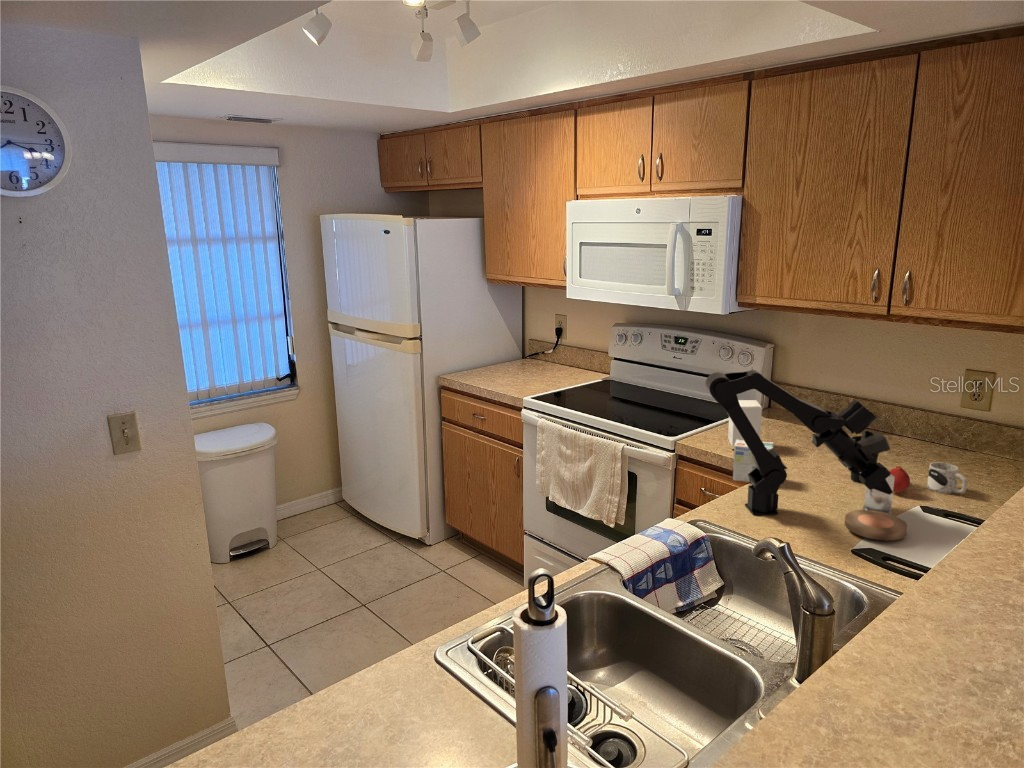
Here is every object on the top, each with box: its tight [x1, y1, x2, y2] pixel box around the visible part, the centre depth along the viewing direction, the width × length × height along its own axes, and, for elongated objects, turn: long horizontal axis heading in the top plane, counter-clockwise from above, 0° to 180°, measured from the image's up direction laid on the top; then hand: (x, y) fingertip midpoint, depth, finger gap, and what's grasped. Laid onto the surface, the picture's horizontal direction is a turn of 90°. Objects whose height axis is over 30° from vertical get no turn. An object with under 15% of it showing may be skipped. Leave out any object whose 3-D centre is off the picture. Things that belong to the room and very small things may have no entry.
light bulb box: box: [732, 439, 775, 483], centre depth 193 cm, size 11×7×11 cm, turn 68°
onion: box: [889, 464, 911, 494], centre depth 180 cm, size 6×6×8 cm
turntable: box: [844, 509, 908, 541], centre depth 159 cm, size 13×13×3 cm
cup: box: [850, 435, 880, 485], centre depth 190 cm, size 8×8×12 cm
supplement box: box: [727, 399, 763, 446], centre depth 221 cm, size 9×9×15 cm
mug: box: [926, 461, 968, 495], centre depth 181 cm, size 10×7×7 cm
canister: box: [862, 474, 895, 515], centre depth 168 cm, size 6×6×10 cm
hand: (885, 488), depth 168 cm, fingers closed on canister, 6 cm apart
